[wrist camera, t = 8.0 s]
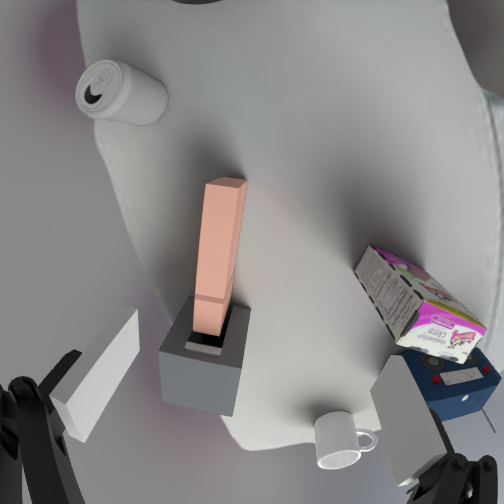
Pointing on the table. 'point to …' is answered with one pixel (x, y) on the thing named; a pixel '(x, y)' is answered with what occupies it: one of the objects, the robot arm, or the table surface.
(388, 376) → the robot arm
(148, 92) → the beverage can
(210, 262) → the tall pink prism
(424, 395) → the radio
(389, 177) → the table surface
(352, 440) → the mug
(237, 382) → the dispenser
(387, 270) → the candy bar box
